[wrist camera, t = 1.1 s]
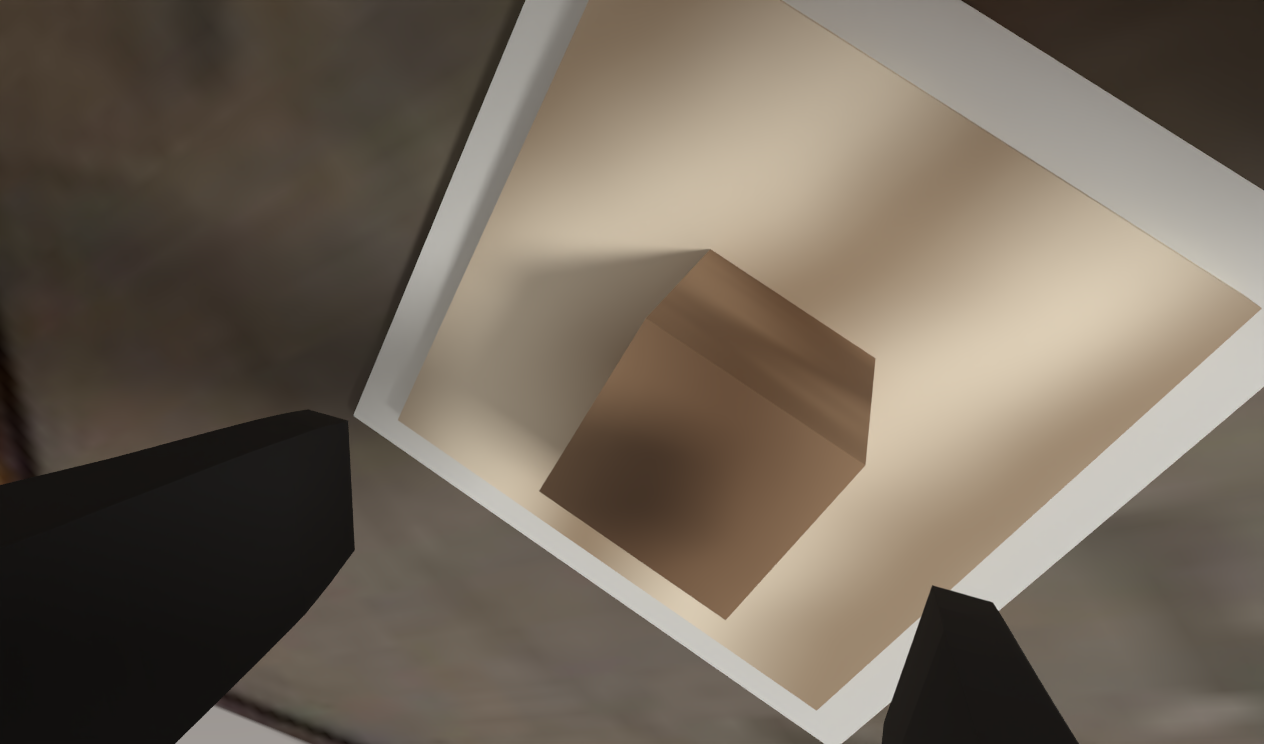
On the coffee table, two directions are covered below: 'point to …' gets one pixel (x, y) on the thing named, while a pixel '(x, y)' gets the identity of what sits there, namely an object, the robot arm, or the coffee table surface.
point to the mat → (999, 103)
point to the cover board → (850, 246)
